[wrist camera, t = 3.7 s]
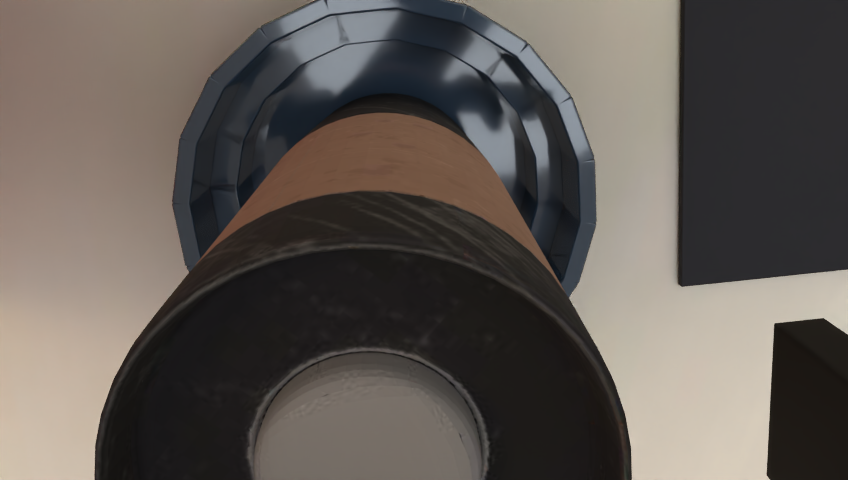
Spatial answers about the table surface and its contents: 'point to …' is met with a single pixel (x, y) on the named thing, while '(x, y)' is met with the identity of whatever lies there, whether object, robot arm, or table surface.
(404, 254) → the travel mug
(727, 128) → the mat
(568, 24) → the table surface
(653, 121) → the table surface
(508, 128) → the bowl
